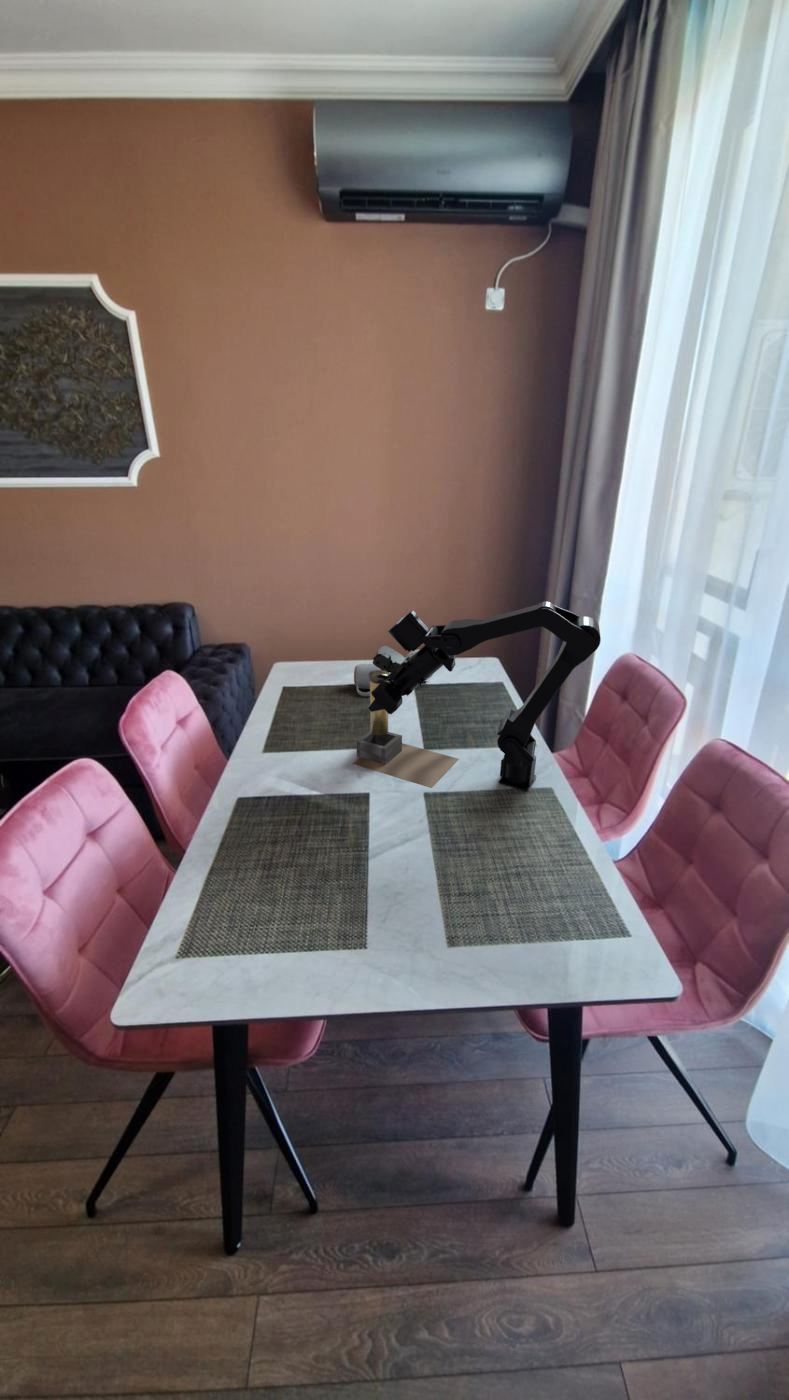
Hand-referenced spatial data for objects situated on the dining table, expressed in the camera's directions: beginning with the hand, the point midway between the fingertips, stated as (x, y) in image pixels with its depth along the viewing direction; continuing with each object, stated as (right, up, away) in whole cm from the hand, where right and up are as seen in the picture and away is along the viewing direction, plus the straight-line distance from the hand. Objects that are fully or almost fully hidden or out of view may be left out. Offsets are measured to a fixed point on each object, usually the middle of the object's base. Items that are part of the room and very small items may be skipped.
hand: (373, 705), depth 136 cm
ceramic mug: (-3, +4, +42) cm, 43 cm away
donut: (+12, +7, +49) cm, 51 cm away
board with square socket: (+7, -14, +2) cm, 16 cm away
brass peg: (+1, -6, +2) cm, 6 cm away
